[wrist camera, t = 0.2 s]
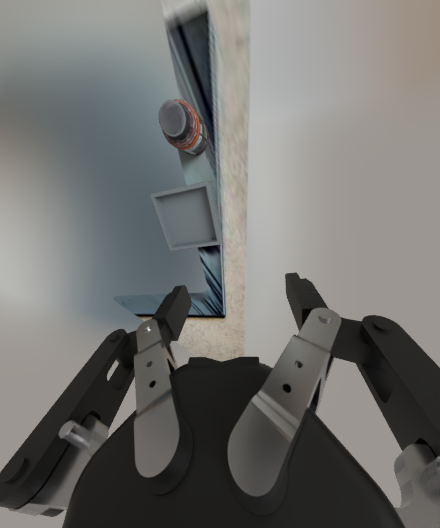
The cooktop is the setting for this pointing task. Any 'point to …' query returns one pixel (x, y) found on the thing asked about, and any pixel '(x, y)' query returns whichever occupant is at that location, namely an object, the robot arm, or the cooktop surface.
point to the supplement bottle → (183, 126)
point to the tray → (189, 216)
